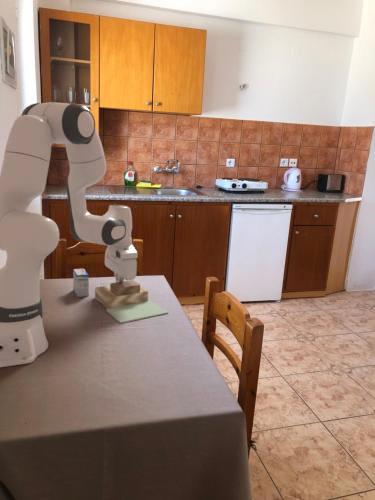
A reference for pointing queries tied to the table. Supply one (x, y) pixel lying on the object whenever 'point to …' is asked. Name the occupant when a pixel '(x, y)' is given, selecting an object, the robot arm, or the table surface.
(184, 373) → the table surface
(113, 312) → the sage green mat
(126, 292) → the walnut tile
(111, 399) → the table surface
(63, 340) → the table surface
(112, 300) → the beech block
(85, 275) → the medicine box
